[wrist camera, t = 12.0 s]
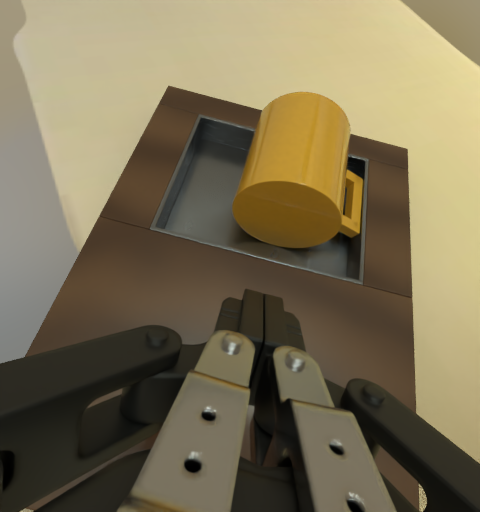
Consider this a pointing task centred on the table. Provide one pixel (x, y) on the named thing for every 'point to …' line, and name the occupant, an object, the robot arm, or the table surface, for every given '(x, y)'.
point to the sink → (221, 200)
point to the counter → (242, 275)
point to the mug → (299, 174)
